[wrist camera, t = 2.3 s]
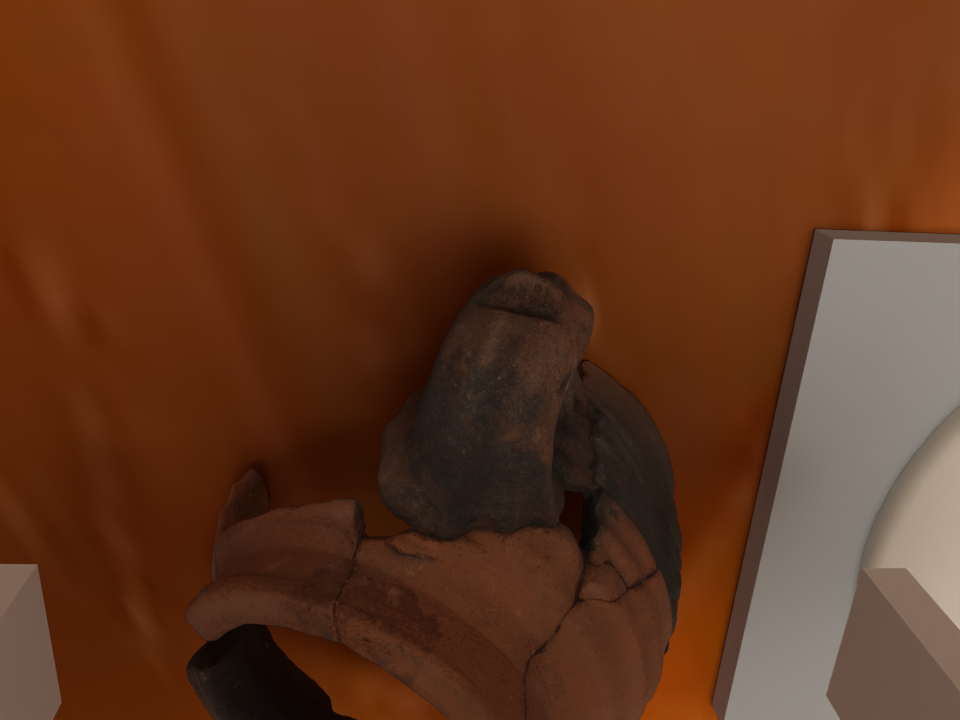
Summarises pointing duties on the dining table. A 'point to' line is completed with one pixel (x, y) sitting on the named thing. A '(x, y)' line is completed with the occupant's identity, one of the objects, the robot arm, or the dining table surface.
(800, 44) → the dining table surface
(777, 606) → the felt placemat
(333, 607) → the broken terracotta ring
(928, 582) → the cream round plate
